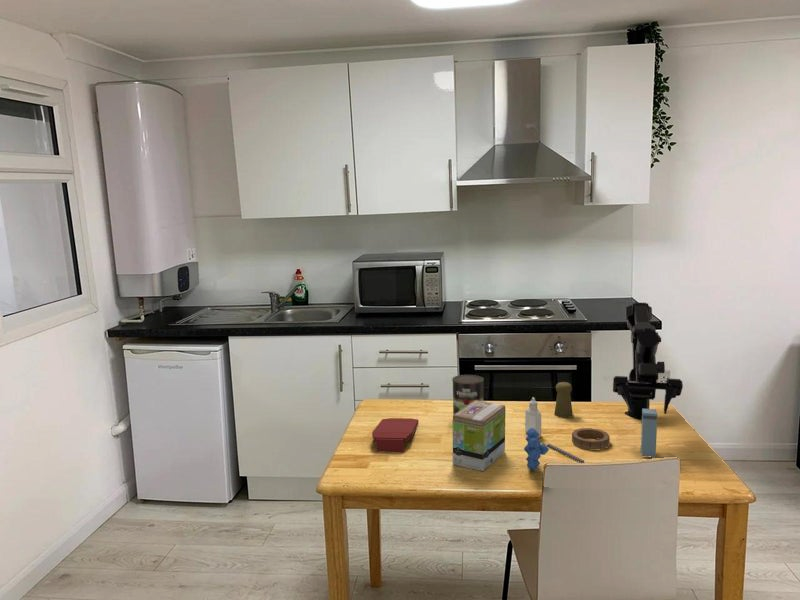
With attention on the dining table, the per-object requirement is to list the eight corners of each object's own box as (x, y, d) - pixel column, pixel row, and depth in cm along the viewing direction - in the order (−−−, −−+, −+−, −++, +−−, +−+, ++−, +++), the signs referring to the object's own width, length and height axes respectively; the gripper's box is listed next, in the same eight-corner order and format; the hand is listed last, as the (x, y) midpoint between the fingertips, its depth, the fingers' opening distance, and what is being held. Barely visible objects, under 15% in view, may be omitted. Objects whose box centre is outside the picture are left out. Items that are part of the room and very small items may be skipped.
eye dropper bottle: (527, 438, 190) (527, 400, 188) (524, 431, 196) (524, 394, 194) (541, 438, 190) (542, 400, 188) (538, 431, 196) (538, 394, 194)
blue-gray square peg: (640, 451, 178) (642, 408, 176) (654, 452, 177) (656, 409, 175) (641, 457, 174) (643, 413, 172) (655, 458, 173) (657, 413, 171)
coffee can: (482, 425, 202) (482, 384, 199) (451, 424, 204) (450, 382, 202) (485, 414, 212) (484, 374, 209) (455, 413, 214) (454, 373, 211)
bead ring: (590, 433, 192) (590, 425, 192) (616, 444, 183) (616, 436, 183) (565, 440, 188) (565, 432, 187) (590, 452, 178) (590, 444, 178)
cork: (571, 411, 212) (571, 380, 210) (574, 417, 206) (574, 385, 204) (553, 411, 212) (553, 380, 211) (555, 417, 207) (556, 385, 205)
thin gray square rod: (549, 445, 184) (549, 443, 184) (584, 462, 172) (584, 460, 172) (546, 446, 184) (546, 444, 184) (581, 463, 172) (581, 461, 172)
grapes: (551, 480, 163) (551, 436, 161) (525, 479, 164) (525, 436, 162) (546, 461, 174) (547, 420, 172) (522, 460, 175) (522, 419, 173)
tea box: (484, 472, 168) (484, 420, 166) (451, 465, 174) (450, 414, 171) (506, 452, 181) (506, 403, 178) (474, 445, 186) (474, 398, 184)
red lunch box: (383, 432, 209) (369, 452, 185) (383, 418, 209) (369, 435, 184) (419, 433, 208) (409, 453, 183) (418, 418, 208) (409, 436, 183)
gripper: (614, 349, 183) (615, 397, 174) (683, 352, 178) (687, 401, 169) (612, 368, 192) (613, 414, 183) (678, 371, 186) (682, 419, 178)
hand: (648, 412), depth 178 cm, fingers open, 9 cm apart
